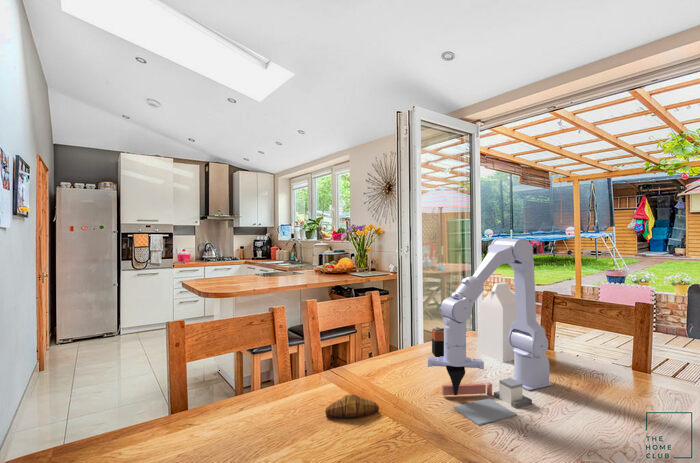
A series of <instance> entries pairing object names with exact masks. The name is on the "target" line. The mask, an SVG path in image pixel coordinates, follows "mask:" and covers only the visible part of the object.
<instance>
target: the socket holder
mask: <svg viewBox="0 0 700 463" xmlns="http://www.w3.org/2000/svg"><path fill="white" fill-rule="evenodd" d="M493 396H494V397H495V398H499V390H498V391H494V392H493ZM499 399H500V398H499ZM532 404H533V399H531V398H530V397H527V396H525V395H523V394H522V399H521V400H517V401H513V402H511V405H510V406H511V407H513V408H514V409H515V408H520V407H524V406H528V405H532Z"/></svg>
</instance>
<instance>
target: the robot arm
mask: <svg viewBox="0 0 700 463" xmlns="http://www.w3.org/2000/svg"><path fill="white" fill-rule="evenodd" d="M533 249H534V248H533V244H532V243H531V242H529V240H527V239H525V238H522V237H521V238H504V237H503V238H502V237H497V238H494V239H493V240H492V242H491V243H490V244H489V245H488V247H487V251H488V252H487V254H486V255H485V257H484V258H483V260H482V261H481V263H480V264H479V266H478V267H477V269H476V270H475V272H474V274H472V276H467V277H465V278H462V279H461V283H460V284H459V286H457V288H456V289H455V291H454V292H452V294H451V295H450V297H446V298H444V299H443V301H442V302H441V304H440V307H438V311H439V314H440V315H441V317H442V323H443V328H444V356H440V357H436V356H431V357H429V356H428V357H426V359H427V360H426V364H427V367H428V368H432V367H445V368H446V371H447V373H448V376H449V379H450V381H451V385H452V386H453V392H454V395H453V396H458V395H457V393H458V388H459V385H460V384H462V383H461V382H462V381H463V378H465V377H464V376H465V375H466V368H467V369H468V368H469V369H470V368H471V369H479V370H484V369H485V362H484V360H483V359H481V358H471V357H467V321H468V320H469V319H471V315H472V310H473V308H474V304H475V302H477V299H479V298H480V296H481V295H482V293H483V292H484V290H485V288H484V286H485V285H484V284H485V283H486V281H487V280H488V279H489V278H490V277H491V275H493V273H494V272H495V271H496V270H497V269H498V268H499V267H500V266H501V265H506V264H507V265H509V266H510V267H511V268H512V269H513V280H514V295H515V307H516V321H515V322H513V323H512V324H511V325H510V333H509V336H508V341H509V344H510V345H511V346H512V350H513V351H514V360H513V362H514V364H513V365H514V366H513V367H514V368H513V369H514V370H513V372H514V373H513V374H514V375H513V376H512V377H510V378H512V379H514V380H516V381H518V382H520V383H522V384H523V387H522V389H524V390H527V391H532V390H536V389H541V388H545V387H549V386H552V385H553V384H552V382H550V361H549V358H548V356H547V355H546V353H547V352H548V350H549V340H548V338H547V336H546V329H545V328H544V327H543V326H542V325H541V324H540V323H539V322H538V321H537V309H536V308H537V304H536V301H537V300H536V283H535V280H536V279H535V262H534V250H533Z"/></svg>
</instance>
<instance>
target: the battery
mask: <svg viewBox="0 0 700 463" xmlns="http://www.w3.org/2000/svg"><path fill="white" fill-rule="evenodd" d="M431 353H432V354H433V356H434V357H436V356H440V357H442V356H444V327H443V328H442V327H438V326H436V327H435V328H432V329H431Z"/></svg>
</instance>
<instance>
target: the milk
mask: <svg viewBox="0 0 700 463" xmlns="http://www.w3.org/2000/svg"><path fill="white" fill-rule="evenodd" d="M478 310H479V312H478V326H477V328H478V329H477V333H478V334H477V345H476V348H477V349H476V352H477V353H478V354H480V355H483V356H485V357H489V358H491V359H492V360H496V361H498V362H501V363H506V362H510V361H514V351H513V350H512V346H511V345H510V344H509V341H508V336H509V333H510V325H511V324H512V323H513V322H515V321H516V307H515V293H513V291H512V290H511V288H510V285H509V282H499V283H497V282H496V283H494V284H493V287H492V289H491V292H489V293H488V294H487V295H486V296H484V298H482V299H481V301H480V302H479V308H478Z"/></svg>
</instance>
